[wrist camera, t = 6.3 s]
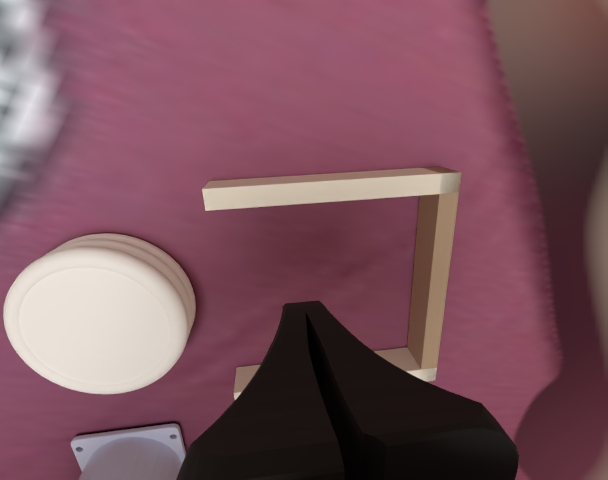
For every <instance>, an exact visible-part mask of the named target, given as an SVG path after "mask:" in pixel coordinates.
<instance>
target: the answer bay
mask: <svg viewBox="0 0 608 480" xmlns="http://www.w3.org/2000/svg"><path fill="white" fill-rule="evenodd" d="M460 180H461V172H459V171H455V170H451V169H447V168H443V167H424V168H408V169H392V170H376V171H360V172H345V173H329V174H313V175H297V176H281V177H265V178H249V179H233V180H218V181H209V182H208V183H207V184H206V185H205V186H204V188H203V189H202V192H203V198H204V204H205V211H209V210H223V209H237V208H251V207H265V206H279V205H293V204H307V203H321V202H335V201H349V200H363V199H377V198H391V197H405V196H419V195H420V196H419V208H418V220H417V233H416V245H415V257H414V269H413V281H412V293H411V305H410V317H409V329H408V341H407V347H405V348H397V349H388V350H380V351H374V352H375V353H376V354H378V355H379V356H381V357H382V358H384V359H385V360H387V361H389V362H390V363H392V364H393V365H395V366H397V367H399V368H401V369H402V370H404V371H406V372H408V373H410V374H411V375H413V376H415V377H417V378H419V379H422V380H424V381H426V382H427V381H435V378H436V370H437V362H438V354H439V346H440V338H441V331H442V323H443V315H444V307H445V299H446V291H447V283H448V275H449V267H450V259H451V251H452V243H453V235H454V227H455V219H456V211H457V204H458V196H459V188H460ZM259 367H260V365H252V366H244V367H236V377H235V386H234V398H235V400H236V399H237V397H238V396H239V395H240V394H241V392H242V391H243V390H244V389H245V387H246V386H247V384H248V383H249V382H250V380H251V379H252V377H253V376H254V375H255V373H256V371H257V370H258V368H259Z"/></svg>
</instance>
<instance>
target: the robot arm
mask: <svg viewBox="0 0 608 480" xmlns="http://www.w3.org/2000/svg"><path fill="white" fill-rule="evenodd" d="M173 434H175V435H173ZM71 447H72V449H73V452H74V454H75V457H76V459H77V461H78V464H79V466H80V469H81V471H82V474H81V476H80V478H79V480H515V477H516V473H517V469H518V460H519V454H518V451H517V448H516V445H515V444H514V443H513V441H512V440H511V439H510V437H509V436H508V435H507V434H506V432H505V431H504V429H503V428H502V427H501V426H500V424H499V423H498V422H497V420H496V419H495V418H494V417H493V416H492V415H491V414H490V412H489V411H488V410H487V409H486V408H485V407H484V406H483V405H482V403H479V402H476V401H473V400H471V399H468V398H465V397H463V396H460V395H457V394H454V393H452V392H449V391H446V390H444V389H441V388H439V387H437V386H435V385H432V384H430V383H428V382H426V381H424V380H422V379H419V378H417V377H415V376H413V375H411V374H410V373H408V372H406V371H404V370H402V369H401V368H399V367H397V366H395V365H393V364H392V363H390V362H389V361H387V360H385V359H384V358H382V357H381V356H379V355H378V354H376V353H375V352H374V351H372V350H371V349H369V348H368V347H367V346H365V345H364V344H363V343H362V342H360V341H359V340H358V339H357V338H356V337H355V336H353V335H352V334H351V333H350V332H349V331H348V330H347V329H346V328H345V327H344V326H343V325H342V324H341V323H340V322H339V321H338V320H337V319H336V318H335V317H334V316H333V315H332V314H331V313H330V312H329V311H328V310H327V309H326V307H325V306H324V305H323V304H322V303H321V302H320V301H310V302H299V303H289V304H285V305H284V306H283V312H282V317H281V321H280V324H279V327H278V330H277V332H276V335H275V337H274V340H273V342H272V344H271V346H270V348H269V350H268V352H267V354H266V356H265V358H264V360H263V362H262V363H261V365H260V367H259V368H258V370H257V371H256V373H255V375H254V376H253V377H252V379H251V380H250V382H249V383H248V384H247V386H246V387H245V389H244V390H243V391H242V392H241V394H240V395H239V396H238V397H237V399H236V400H235V401H234V402H233V403H232V404H231V405H230V407H229V408H228V409H227V410H226V411H225V412H224V413H223V414H222V416H221V417H220V418H219V419H218V420H217V421H216V422H215V423H214V424H213V425H212V426H210V427H209V428H208V429H207V430H206V431H205V432H204V433H203V434H202V435H201V436H200V437H199V438H198V439H196V440H195V441H194V442H193V443H192V444H191V445H190V447H189V449H188V452H187V454H186V451H185V447H184V443H183V438H182V434H181V430H180V427H179V425H177V424H174V423H172V424H165V425H157V426H150V427H142V428H134V429H127V430H119V431H112V432H104V433H96V434H89V435H81V436H76V437H74V438H73V440H72V442H71Z"/></svg>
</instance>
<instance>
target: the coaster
mask: <svg viewBox="0 0 608 480" xmlns="http://www.w3.org/2000/svg"><path fill="white" fill-rule="evenodd" d="M195 311H196V304H195V296H194V292H193V288H192V285H191V283H190V281H189V279H188V277H187V275H186V273H185V272H184V271H183V269H182V268H181V267H180V265H179V264H178V263H177V262H176V261H175V260H174V259H173V258H172V257H170V256H169V255H168V254H167V253H165V252H164V251H163V250H161V249H159V248H158V247H156V246H154V245H152V244H150V243H148V242H146V241H144V240H141V239H138V238H135V237H131V236H127V235H121V234H110V233H103V234H91V235H86V236H81V237H78V238H75V239H72V240H70V241H68V242H66V243H64V244H62V245H60V246H59V247H57V248H56V249H54V250H52V251H51V252H49V253H47V254H46V255H45V256H43V257H41V258H39V259H37V260H36V261H34V262H33V263H32V264H30V265H29V266H27V267H26V268H25V269H24V270H23V271H22V272H21V273H20V274H19V276H18V277H17V279H16V280H15V281H14V283H13V284H12V286H11V287H10V290H9V292H8V294H7V296H6V300H5V304H4V316H3V317H4V324H5V329H6V332H7V336H8V338H9V340H10V342H11V344H12V346H13V348H14V349H15V350H16V352H17V353H18V355H19V356H20V357H21V358H22V359H23V360H24V361H25V363H26V364H27V365H29V366H30V367H31V368H32V369H33V370H34V371H36V372H37V373H39V374H40V375H41V376H43V377H45V378H46V379H48V380H50V381H52V382H54V383H56V384H58V385H61V386H63V387H66V388H69V389H72V390H76V391H80V392H86V393H93V394H117V393H125V392H129V391H134V390H137V389H140V388H142V387H145V386H147V385H149V384H151V383H153V382H155V381H156V380H158V379H159V378H161V377H162V376H163V375H165V374H166V373H167V372H168V371H169V370H170V369H171V368H172V367H173V365H174V364H175V363H176V362H177V361H178V359H179V358H180V356H181V355H182V353H183V351H184V348H185V346H186V343H187V339H188V337H189V334H190V331H191V328H192V326H193V323H194V318H195Z"/></svg>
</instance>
